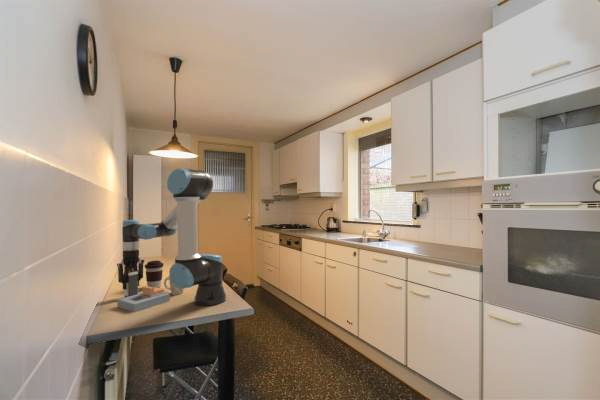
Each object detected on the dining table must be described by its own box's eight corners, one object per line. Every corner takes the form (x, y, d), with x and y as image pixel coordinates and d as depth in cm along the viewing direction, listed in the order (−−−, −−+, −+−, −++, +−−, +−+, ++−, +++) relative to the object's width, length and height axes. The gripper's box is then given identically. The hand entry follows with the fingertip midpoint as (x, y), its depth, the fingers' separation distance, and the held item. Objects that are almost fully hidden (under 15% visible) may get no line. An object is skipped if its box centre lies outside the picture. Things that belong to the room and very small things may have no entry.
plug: (138, 296, 162) (137, 267, 162) (129, 299, 158) (129, 268, 158) (132, 295, 164) (132, 266, 164) (124, 298, 160) (124, 267, 160)
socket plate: (169, 300, 155) (169, 292, 155) (134, 312, 139) (134, 302, 139) (152, 296, 162) (152, 288, 162) (117, 307, 146) (117, 297, 146)
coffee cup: (166, 284, 185) (166, 259, 185) (159, 289, 175) (159, 263, 175) (149, 285, 185) (149, 260, 185) (141, 289, 175) (141, 263, 175)
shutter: (164, 292, 156) (164, 285, 156) (151, 296, 150) (151, 288, 150) (155, 290, 159) (155, 283, 159) (142, 294, 153) (142, 286, 153)
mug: (179, 295, 163) (179, 276, 163) (158, 294, 165) (158, 276, 166) (188, 291, 171) (188, 273, 171) (168, 290, 174) (168, 272, 174)
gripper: (142, 246, 171) (142, 289, 170) (109, 251, 156) (109, 297, 155) (150, 247, 167) (151, 291, 167) (118, 252, 152) (118, 300, 152)
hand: (131, 294), depth 161 cm, fingers closed on plug, 4 cm apart
